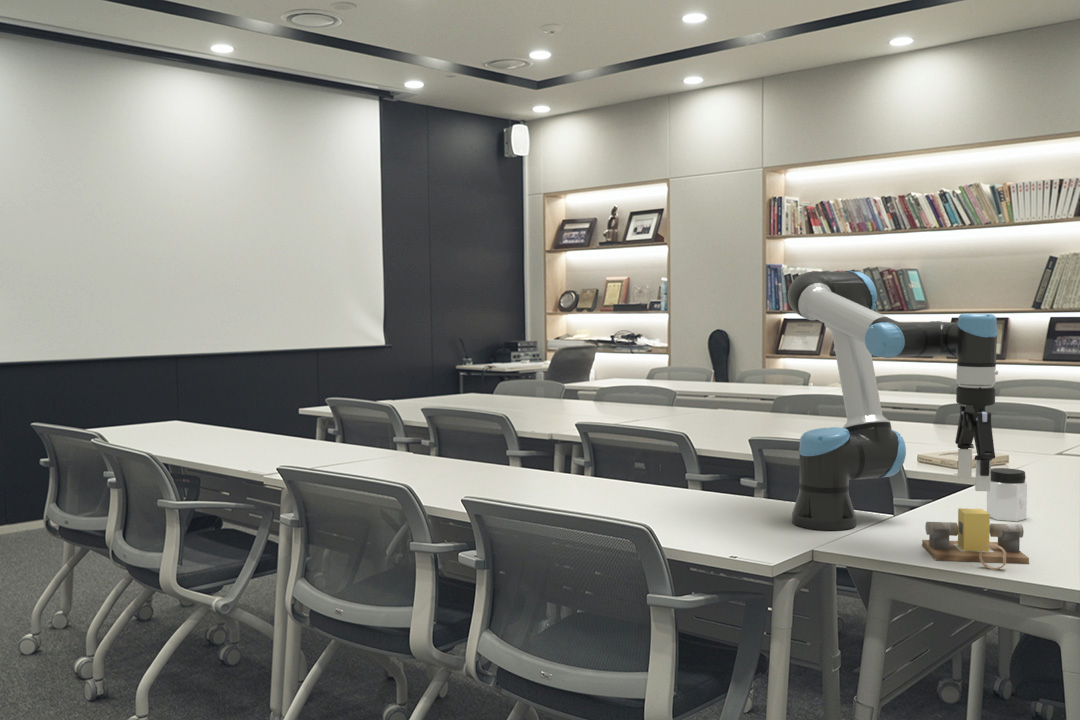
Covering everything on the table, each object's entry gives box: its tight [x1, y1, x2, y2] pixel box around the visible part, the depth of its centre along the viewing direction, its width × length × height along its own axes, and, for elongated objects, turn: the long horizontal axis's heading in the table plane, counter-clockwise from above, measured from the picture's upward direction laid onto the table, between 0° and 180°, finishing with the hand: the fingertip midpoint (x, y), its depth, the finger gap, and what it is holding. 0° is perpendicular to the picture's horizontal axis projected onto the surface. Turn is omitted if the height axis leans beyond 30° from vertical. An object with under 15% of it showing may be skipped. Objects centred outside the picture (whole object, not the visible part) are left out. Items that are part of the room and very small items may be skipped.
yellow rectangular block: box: [957, 507, 991, 551], centre depth 198 cm, size 5×5×8 cm
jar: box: [986, 467, 1028, 523], centre depth 232 cm, size 9×8×12 cm
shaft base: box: [921, 521, 1030, 564], centre depth 198 cm, size 19×13×7 cm
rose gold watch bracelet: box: [979, 544, 1007, 571], centre depth 187 cm, size 3×5×5 cm, turn 55°
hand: (973, 484), depth 198 cm, fingers open, 13 cm apart
